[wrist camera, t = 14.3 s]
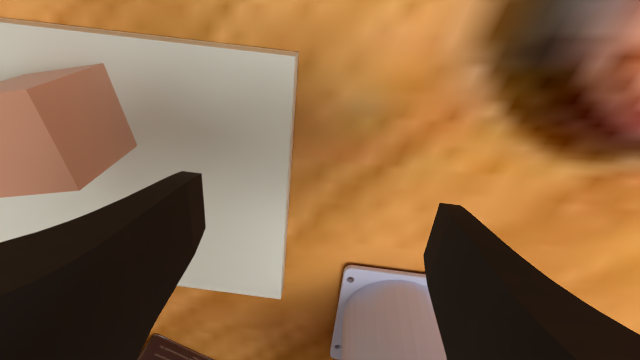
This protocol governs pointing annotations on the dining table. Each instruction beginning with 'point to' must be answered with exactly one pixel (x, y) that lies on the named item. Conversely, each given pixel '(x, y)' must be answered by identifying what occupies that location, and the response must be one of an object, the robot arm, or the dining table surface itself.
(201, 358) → the box
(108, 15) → the dining table surface
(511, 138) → the dining table surface
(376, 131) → the dining table surface
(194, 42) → the board
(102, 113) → the peach colored cube
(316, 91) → the dining table surface
